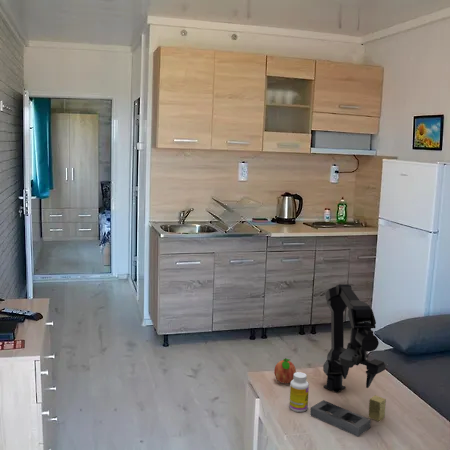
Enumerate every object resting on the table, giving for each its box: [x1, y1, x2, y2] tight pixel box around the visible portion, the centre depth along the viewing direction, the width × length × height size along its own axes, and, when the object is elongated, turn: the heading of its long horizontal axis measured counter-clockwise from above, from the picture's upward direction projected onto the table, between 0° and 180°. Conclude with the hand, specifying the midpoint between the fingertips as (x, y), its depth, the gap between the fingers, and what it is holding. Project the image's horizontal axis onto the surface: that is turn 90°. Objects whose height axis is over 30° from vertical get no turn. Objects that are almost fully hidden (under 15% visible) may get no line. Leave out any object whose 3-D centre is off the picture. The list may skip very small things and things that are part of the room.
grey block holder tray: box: [309, 399, 372, 437], centre depth 183 cm, size 8×19×3 cm, turn 46°
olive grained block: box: [368, 394, 387, 423], centre depth 186 cm, size 4×4×7 cm
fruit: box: [273, 357, 297, 384], centre depth 212 cm, size 9×10×10 cm
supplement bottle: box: [288, 371, 310, 413], centre depth 190 cm, size 7×7×13 cm
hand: (356, 383), depth 185 cm, fingers open, 9 cm apart
